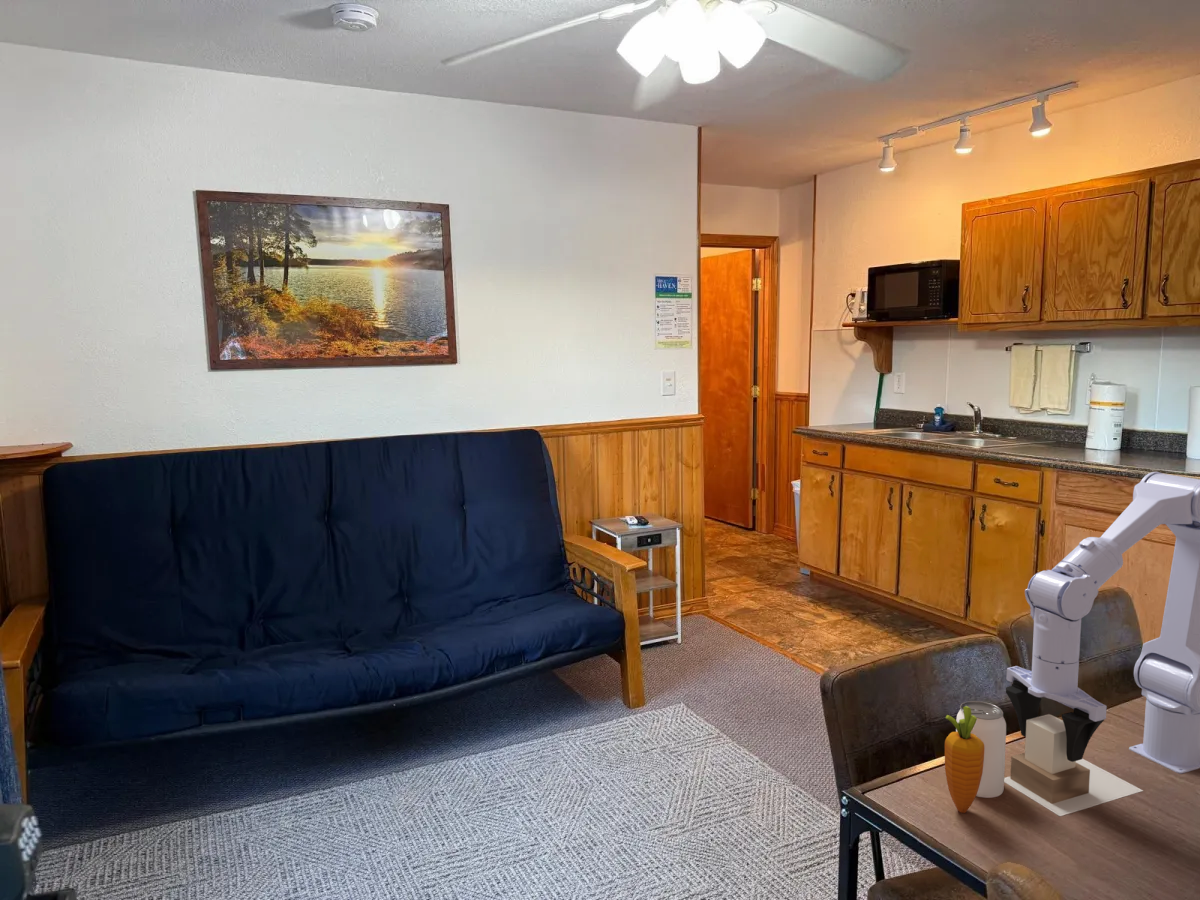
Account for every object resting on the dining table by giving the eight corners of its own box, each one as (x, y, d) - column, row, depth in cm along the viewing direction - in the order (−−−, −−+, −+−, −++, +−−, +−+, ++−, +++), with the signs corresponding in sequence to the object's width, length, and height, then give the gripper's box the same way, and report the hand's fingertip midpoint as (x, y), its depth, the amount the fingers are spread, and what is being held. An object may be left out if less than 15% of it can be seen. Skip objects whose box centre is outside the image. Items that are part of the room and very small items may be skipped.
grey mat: (1079, 759, 122) (1079, 757, 122) (1143, 793, 113) (1143, 790, 113) (999, 781, 117) (999, 779, 117) (1059, 818, 108) (1059, 816, 107)
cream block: (1047, 752, 117) (1049, 713, 116) (1075, 767, 113) (1077, 727, 112) (1024, 758, 116) (1026, 720, 115) (1052, 774, 111) (1054, 733, 111)
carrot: (965, 828, 106) (969, 722, 104) (934, 809, 110) (937, 707, 108) (990, 817, 108) (994, 713, 106) (958, 799, 113) (962, 699, 111)
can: (1009, 802, 112) (1012, 721, 110) (960, 798, 113) (962, 718, 111) (996, 777, 118) (999, 701, 116) (949, 773, 119) (952, 698, 118)
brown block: (1045, 768, 119) (1047, 746, 119) (1088, 792, 113) (1090, 769, 112) (1010, 778, 117) (1011, 756, 116) (1051, 803, 110) (1053, 780, 110)
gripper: (992, 642, 118) (988, 729, 119) (1081, 680, 104) (1075, 777, 106) (1028, 635, 120) (1024, 720, 122) (1120, 671, 106) (1114, 766, 108)
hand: (1050, 746), depth 114 cm, fingers open, 7 cm apart
